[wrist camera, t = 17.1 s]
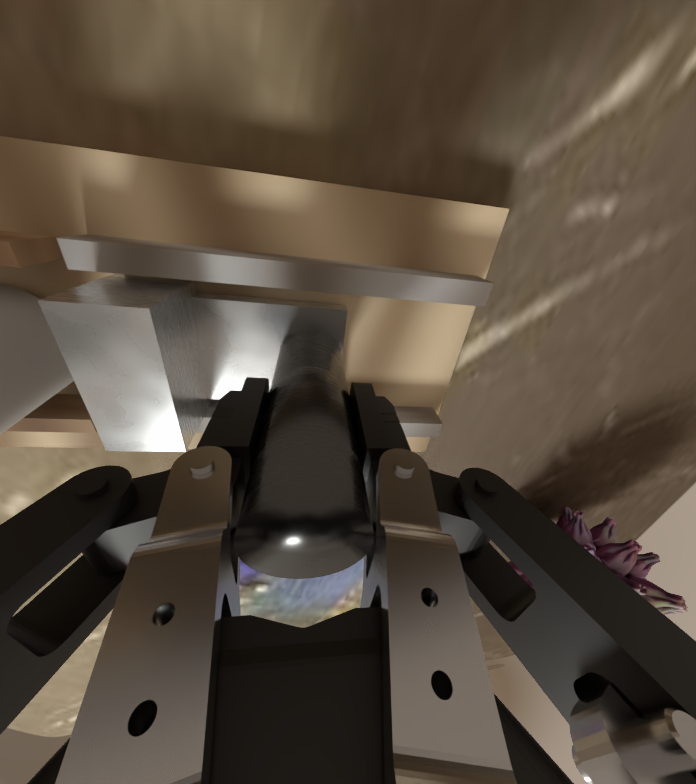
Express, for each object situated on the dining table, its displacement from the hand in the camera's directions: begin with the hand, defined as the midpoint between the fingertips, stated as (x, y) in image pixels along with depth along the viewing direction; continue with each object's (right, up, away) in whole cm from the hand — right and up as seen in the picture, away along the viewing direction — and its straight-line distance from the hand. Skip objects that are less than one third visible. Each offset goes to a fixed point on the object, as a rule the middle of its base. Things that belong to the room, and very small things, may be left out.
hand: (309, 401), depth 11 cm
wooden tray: (-5, +4, +5) cm, 8 cm away
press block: (-4, +3, +3) cm, 5 cm away
